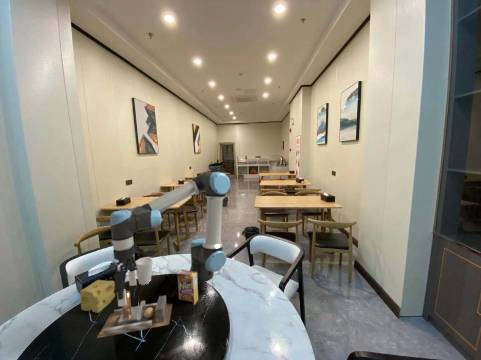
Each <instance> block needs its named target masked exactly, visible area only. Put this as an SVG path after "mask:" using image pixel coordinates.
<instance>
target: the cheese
mask: <svg viewBox="0 0 481 360" xmlns="http://www.w3.org/2000/svg"><path fill="white" fill-rule="evenodd" d="M114 286H115V280H101V279H97V280H95V281H94V282H92V283H91V284H89V285H87V286H86V287H85V288H83V289H80V290H79V296H80V307H81V311H87V312H90V311H92V312H93V313H101V311H102V310H103V309H105V307H107V306H109V305H110V304H111V303H112V302H113V301H114V298H115V297H116V293H114Z"/></svg>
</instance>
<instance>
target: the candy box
mask: <svg viewBox="0 0 481 360" xmlns="http://www.w3.org/2000/svg"><path fill="white" fill-rule="evenodd" d="M177 285H178V300H181V301H186V302H189V303H193V306H195V305H196V304H197V302H198V301H199V289H198V288H199V287H198V283H197V272H193V271H190V270H186V269H181V270H180V271H178V273H177Z"/></svg>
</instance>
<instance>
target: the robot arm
mask: <svg viewBox="0 0 481 360" xmlns="http://www.w3.org/2000/svg"><path fill="white" fill-rule="evenodd" d="M230 189H231V181H230V178H229V176H228V175H227V174H226V173H223V172H219V171H217V172H216V171H214V172H213V171H206V172H203V173H200V174H198V175H197V176H196V175H195V177H192V178H191V179H189V180H188V182H186V183H184V184H183V185H180V186H178V187H176V188H175V189H173V190H171V191H169V192H167V193H164V194H163V195H161V196H159V197H157V198H155V199H152V200H151V201H149V202H147V203H144V204H143V205H137V206H134V207H133V208H132V210H130V209H121V210H115V211H113V212H112V213H111V214H110V217H109V218H110V232H111V243H112V249H113V251H112V252H113V259H115V260H116V261H117V260H118V265H115V274H114V275H115V276H114V283H115V286H114V293H115V294H116V295H117V306H118V307H122V306H125V305H126V304H127V303H126V293H125V291H126V289H125V284H126V276H127V273H128V282H129V283H128V284H129V286H130V287H132V286H137V277H136V276H137V273H136V270H137V268H135V267H136V266H137V265H136V262H135V261H136V260H135V257H134V255H135V246H134V245H135V242H134V235H133V232H137V231H142V230H146V229H152V228H156V227H158V226H161V224H162V214H161V213H162V212H164V211H166V210H167V209H169V208H172V207H174V206H175V205H177V204H179V203H181V202H182V201H185V200H186V199H188V198H190V197H192V196H193V195H199V194H201V193H204V197H205V198H206V201H207V202H206V217H205V221H206V222H205V236H204V237H199V238H195V239H193V240H191V242H190V246H189V247H190V261H191V263H190V264H191V265H190V269H189V271H193V272H197V284H201V283H206V282H208V281H210V280H211V279H213V278H214V275H215V274H214V272H219V271H220V270H221V269H222V268H223V267H224V265H225V264H226V262H227V254H226V252H224V244H223V243H222V241H221V239H222V237H221V236H222V220H223V201H224V199H225V198H226V197H227V195H226V194H227V193H228V191H229V190H230Z"/></svg>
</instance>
